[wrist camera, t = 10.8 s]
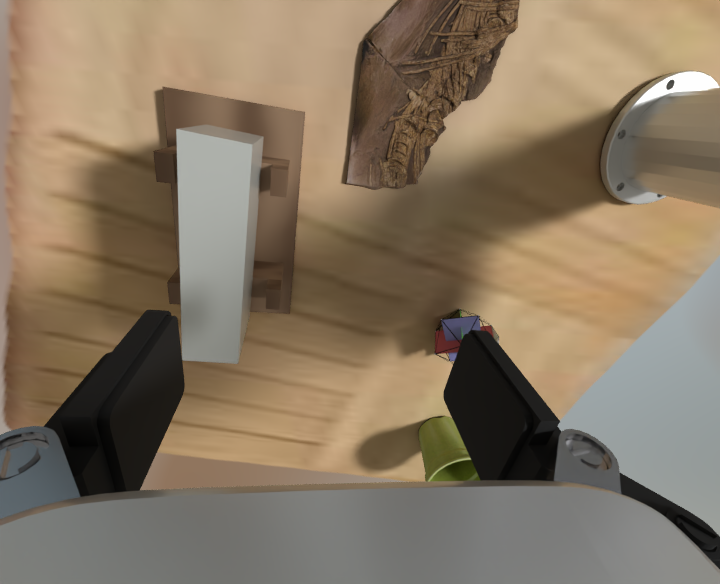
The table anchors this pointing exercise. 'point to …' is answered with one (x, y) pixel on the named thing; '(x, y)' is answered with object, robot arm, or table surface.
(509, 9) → the wooden fragment
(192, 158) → the clay bar
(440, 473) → the plant pot
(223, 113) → the wooden display stand
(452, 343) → the geometric puzzle
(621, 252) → the table surface
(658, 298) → the table surface
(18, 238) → the table surface
